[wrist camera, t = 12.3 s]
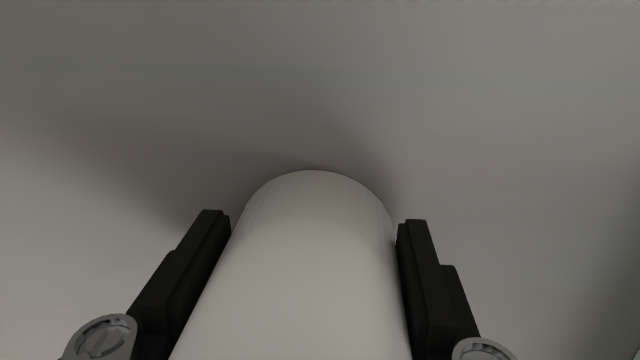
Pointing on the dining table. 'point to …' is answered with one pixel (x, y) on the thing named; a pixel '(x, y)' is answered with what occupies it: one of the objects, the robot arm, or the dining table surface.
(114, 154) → the dining table surface
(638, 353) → the tote
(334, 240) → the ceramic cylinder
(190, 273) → the robot arm
